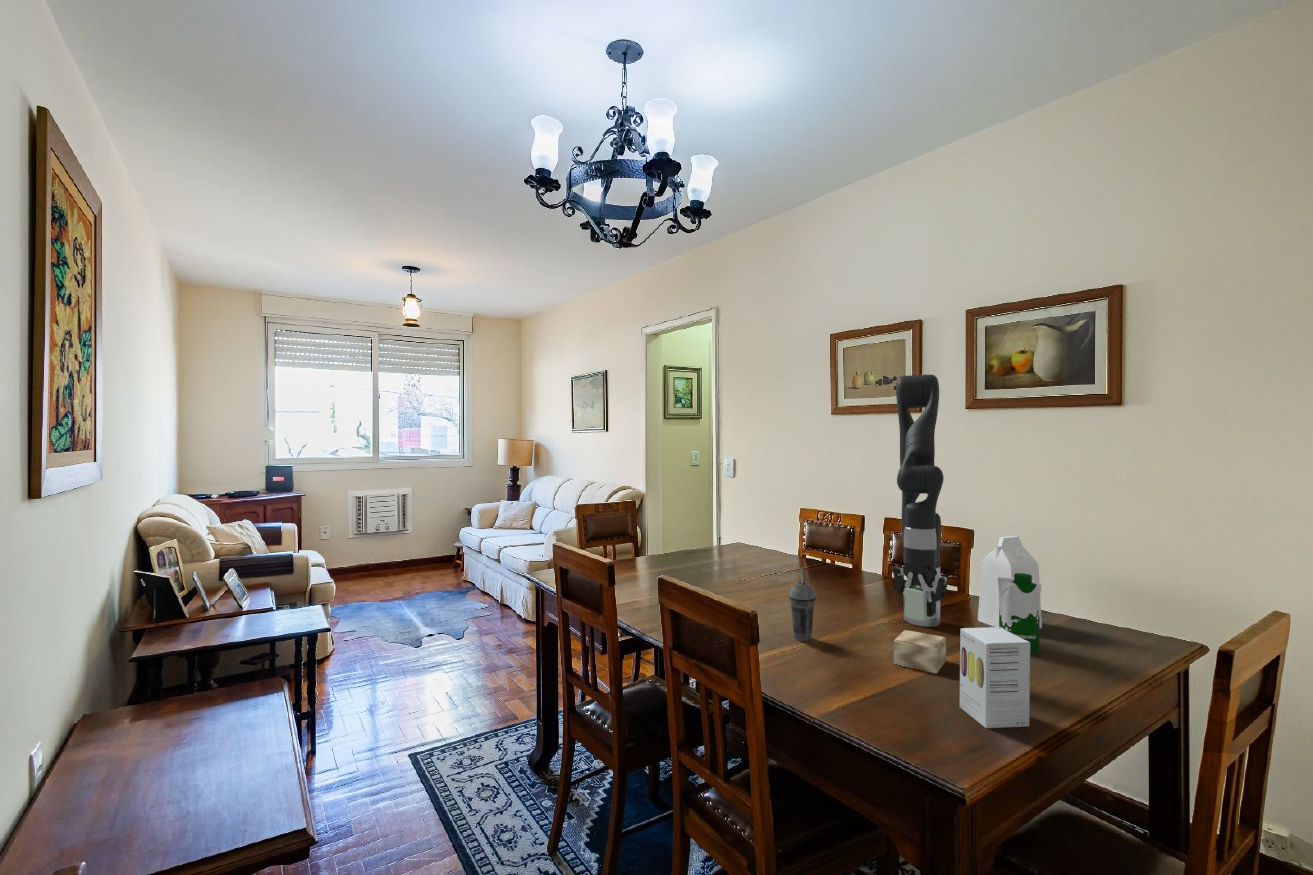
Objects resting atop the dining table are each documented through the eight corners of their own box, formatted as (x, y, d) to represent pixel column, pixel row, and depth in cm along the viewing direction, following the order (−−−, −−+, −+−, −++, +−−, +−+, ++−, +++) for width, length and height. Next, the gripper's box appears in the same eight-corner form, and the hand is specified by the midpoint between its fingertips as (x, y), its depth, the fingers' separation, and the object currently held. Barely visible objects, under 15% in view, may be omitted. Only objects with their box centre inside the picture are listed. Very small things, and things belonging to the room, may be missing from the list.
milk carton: (1009, 654, 159) (1009, 576, 159) (993, 641, 168) (993, 568, 168) (1045, 655, 158) (1045, 577, 158) (1027, 642, 167) (1027, 569, 167)
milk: (1008, 616, 191) (1008, 532, 190) (1041, 627, 180) (1042, 538, 179) (977, 620, 187) (977, 535, 186) (1010, 632, 176) (1010, 541, 175)
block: (904, 616, 154) (904, 588, 154) (915, 612, 157) (916, 585, 157) (923, 621, 150) (923, 592, 150) (934, 617, 153) (934, 589, 153)
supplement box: (958, 707, 129) (958, 627, 129) (999, 705, 130) (1000, 625, 130) (986, 729, 120) (986, 643, 119) (1031, 727, 120) (1031, 641, 120)
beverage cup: (818, 636, 173) (818, 565, 173) (813, 644, 167) (813, 571, 166) (792, 633, 176) (792, 563, 176) (786, 641, 170) (786, 568, 169)
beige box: (893, 665, 153) (893, 640, 153) (904, 653, 161) (904, 629, 161) (936, 674, 147) (936, 648, 147) (945, 661, 155) (945, 636, 155)
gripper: (885, 542, 157) (885, 609, 157) (939, 551, 145) (939, 623, 146) (902, 539, 161) (902, 604, 162) (956, 548, 150) (955, 617, 150)
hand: (919, 613), depth 154 cm, fingers closed on block, 5 cm apart
